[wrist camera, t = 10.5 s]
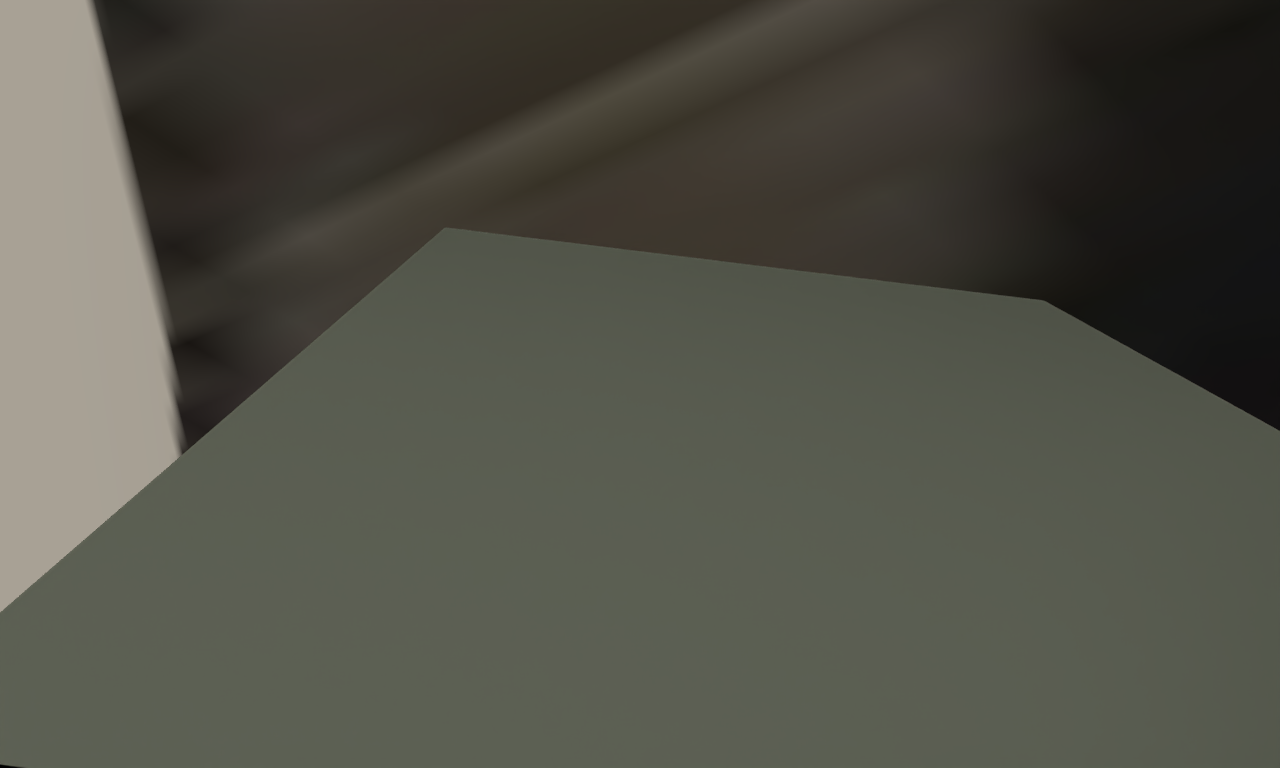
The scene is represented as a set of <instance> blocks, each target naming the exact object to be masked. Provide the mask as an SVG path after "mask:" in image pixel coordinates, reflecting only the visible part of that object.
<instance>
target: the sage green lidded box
mask: <svg viewBox="0 0 1280 768" xmlns="http://www.w3.org/2000/svg"><path fill="white" fill-rule="evenodd" d="M0 768H1280V431H1279V430H1277V429H1275V428H1273V427H1271V426H1270V425H1268V424H1266V423H1264V422H1262V421H1261V420H1259V419H1257V418H1255V417H1253V416H1252V415H1250V414H1248V413H1246V412H1244V411H1243V410H1241V409H1239V408H1237V407H1235V406H1233V405H1232V404H1230V403H1228V402H1226V401H1224V400H1223V399H1221V398H1219V397H1217V396H1215V395H1214V394H1212V393H1210V392H1208V391H1206V390H1205V389H1203V388H1201V387H1199V386H1197V385H1195V384H1194V383H1192V382H1190V381H1188V380H1186V379H1185V378H1183V377H1181V376H1179V375H1177V374H1176V373H1174V372H1172V371H1170V370H1168V369H1167V368H1165V367H1163V366H1161V365H1159V364H1158V363H1156V362H1154V361H1152V360H1150V359H1148V358H1147V357H1145V356H1143V355H1141V354H1139V353H1138V352H1136V351H1134V350H1132V349H1130V348H1129V347H1127V346H1125V345H1123V344H1121V343H1120V342H1118V341H1116V340H1114V339H1112V338H1111V337H1109V336H1107V335H1105V334H1103V333H1101V332H1100V331H1098V330H1096V329H1094V328H1092V327H1091V326H1089V325H1087V324H1085V323H1083V322H1082V321H1080V320H1078V319H1076V318H1074V317H1073V316H1071V315H1069V314H1067V313H1065V312H1063V311H1062V310H1060V309H1058V308H1056V307H1054V306H1053V305H1051V304H1049V303H1047V302H1045V301H1043V300H1035V299H1026V298H1018V297H1010V296H1002V295H994V294H985V293H977V292H969V291H961V290H953V289H944V288H936V287H928V286H920V285H912V284H904V283H895V282H887V281H879V280H871V279H863V278H854V277H846V276H838V275H830V274H822V273H813V272H805V271H797V270H789V269H781V268H773V267H764V266H756V265H748V264H740V263H732V262H723V261H715V260H707V259H699V258H691V257H682V256H674V255H666V254H658V253H650V252H642V251H633V250H625V249H617V248H609V247H601V246H592V245H584V244H576V243H568V242H560V241H551V240H543V239H535V238H527V237H519V236H511V235H502V234H494V233H486V232H478V231H470V230H461V229H453V228H444V229H443V230H442V231H441V232H439V233H438V234H437V235H436V236H435V237H434V238H433V239H431V240H430V241H429V242H428V243H427V244H426V245H424V246H423V247H422V248H421V249H420V250H419V251H417V252H416V253H415V254H414V255H413V256H412V257H411V258H409V259H408V260H407V261H406V262H405V263H404V264H402V265H401V266H400V267H399V268H398V269H397V270H396V271H394V272H393V273H392V274H391V275H390V276H389V277H387V278H386V279H385V280H384V281H383V282H382V283H381V284H379V285H378V286H377V287H376V288H375V289H374V290H372V291H371V292H370V293H369V294H368V295H367V296H365V297H364V298H363V299H362V300H361V301H360V302H359V303H357V304H356V305H355V306H354V307H353V308H352V309H350V310H349V311H348V312H347V313H346V314H345V315H344V316H342V317H341V318H340V319H339V320H338V321H337V322H335V323H334V324H333V325H332V326H331V327H330V328H328V329H327V330H326V331H325V332H324V333H323V334H322V335H320V336H319V337H318V338H317V339H316V340H315V341H313V342H312V343H311V344H310V345H309V346H308V347H307V348H305V349H304V350H303V351H302V352H301V353H300V354H298V355H297V356H296V357H295V358H294V359H293V360H292V361H290V362H289V363H288V364H287V365H286V366H285V367H283V368H282V369H281V370H280V371H279V372H278V373H276V374H275V375H274V376H273V377H272V378H271V379H270V380H268V381H267V382H266V383H265V384H264V385H263V386H261V387H260V388H259V389H258V390H257V391H256V392H255V393H253V394H252V395H251V396H250V397H249V398H248V399H246V400H245V401H244V402H243V403H242V404H241V405H240V406H238V407H237V408H236V409H235V410H234V411H233V412H231V413H230V414H229V415H228V416H227V417H226V418H224V419H223V420H222V421H221V422H220V423H219V424H218V425H216V426H215V427H214V428H213V429H212V430H211V431H209V432H208V433H207V434H206V435H205V436H204V437H203V438H201V439H200V440H199V441H198V442H197V443H196V444H194V445H193V446H192V447H191V448H190V449H189V450H188V451H186V452H185V453H184V454H183V455H182V456H181V457H179V458H178V459H177V460H176V461H175V462H174V463H172V464H171V465H170V466H169V467H168V468H167V469H166V470H164V471H163V472H162V473H161V474H160V475H159V476H157V477H156V478H155V479H154V480H153V481H152V482H151V483H149V484H148V485H147V486H146V487H145V488H144V489H142V490H141V491H140V492H139V493H138V494H137V495H135V496H134V497H133V498H132V499H131V500H130V501H129V502H127V503H126V504H125V505H124V506H123V507H122V508H120V509H119V510H118V511H117V512H116V513H115V514H114V515H112V516H111V517H110V518H109V519H108V520H107V521H105V522H104V523H103V524H102V525H101V526H100V527H99V528H97V529H96V530H95V531H94V532H93V533H92V534H91V535H89V536H88V537H87V538H86V539H85V540H83V541H82V542H81V543H80V544H79V545H78V546H77V547H75V548H74V549H73V550H72V551H71V552H70V553H69V554H67V555H66V556H65V557H64V558H63V559H62V560H60V561H59V562H58V563H57V564H56V565H55V566H54V567H52V568H51V569H50V570H49V571H48V572H47V573H45V574H44V575H43V576H42V577H41V578H40V579H38V580H37V581H36V582H35V583H34V584H33V585H31V586H30V587H29V588H28V589H27V590H26V591H25V592H24V593H22V594H21V595H20V596H19V597H18V598H17V599H15V600H14V601H13V602H12V603H11V604H10V605H8V606H7V607H6V608H5V609H4V610H3V611H1V612H0Z"/></svg>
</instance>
